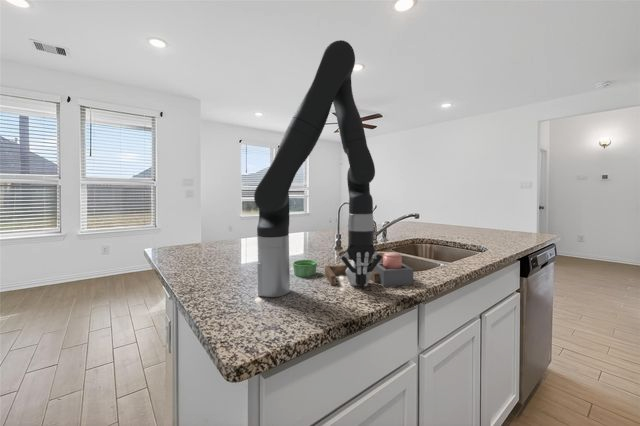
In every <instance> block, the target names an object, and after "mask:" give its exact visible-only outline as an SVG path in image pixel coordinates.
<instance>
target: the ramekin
mask: <svg viewBox="0 0 640 426" xmlns="http://www.w3.org/2000/svg"><path fill="white" fill-rule="evenodd" d="M317 265H318V262H317V261H316V260H314V259H313V260H312V259H300V260H295V261H293V262H292V266H293V274H294V276H296V277H300V278H308V277H312V276H313V277H314V276H315V275H316V274H317Z"/></svg>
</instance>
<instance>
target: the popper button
mask: <svg viewBox="0 0 640 426" xmlns="http://www.w3.org/2000/svg"><path fill="white" fill-rule="evenodd" d="M402 259H403V258H402V255H401V253H398V252H394V251H393V252H384V254H383V255H382V263H383V267H384V268H385V269H401V268H402V263H403V262H402Z"/></svg>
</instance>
